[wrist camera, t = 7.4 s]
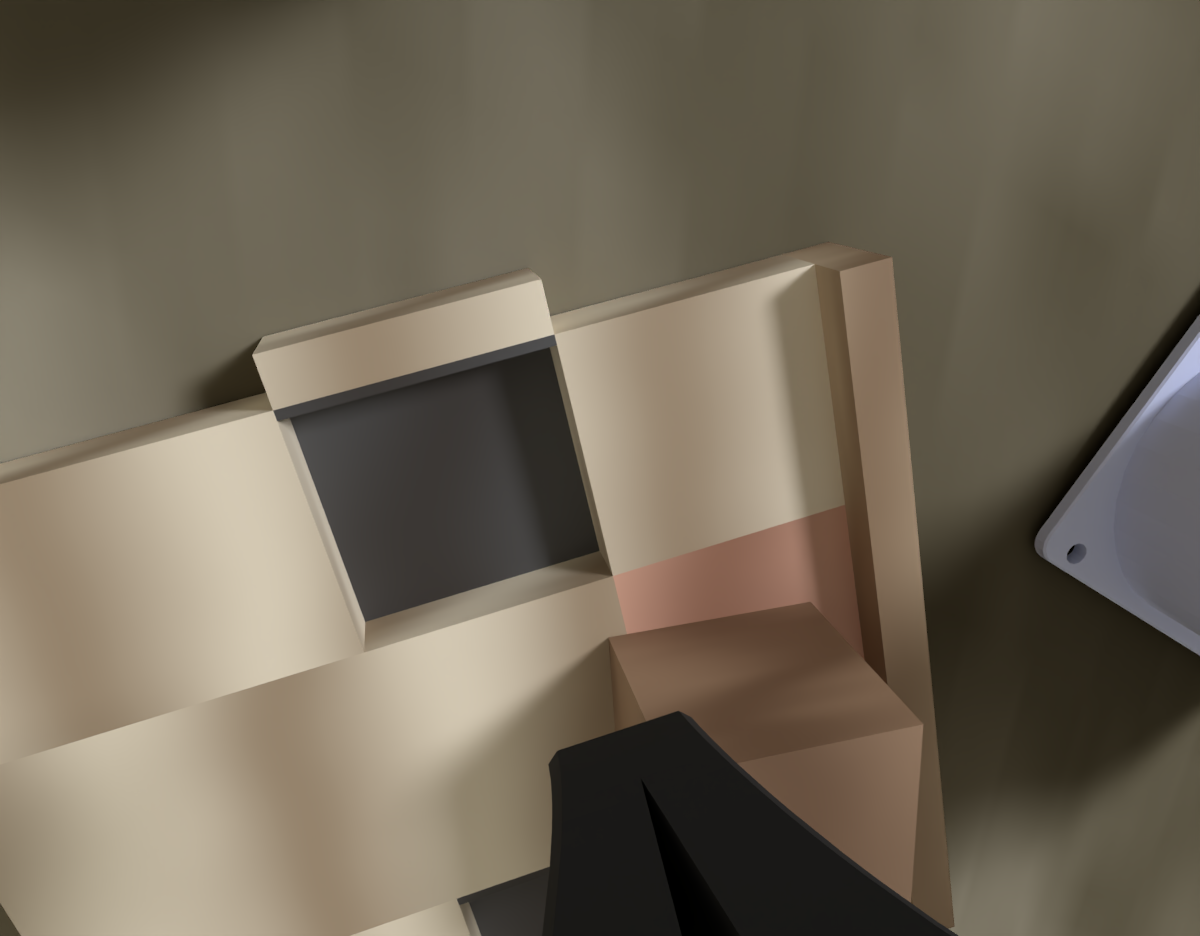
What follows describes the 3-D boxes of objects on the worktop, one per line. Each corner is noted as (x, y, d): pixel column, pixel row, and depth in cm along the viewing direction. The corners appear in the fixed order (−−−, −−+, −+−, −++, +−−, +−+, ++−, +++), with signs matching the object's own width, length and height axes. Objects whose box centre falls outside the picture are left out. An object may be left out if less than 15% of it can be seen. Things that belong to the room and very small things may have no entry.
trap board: (822, 191, 18) (886, 199, 16) (904, 879, 25) (957, 954, 23) (-207, 458, 16) (-309, 514, 13) (203, 1137, 23) (182, 1250, 20)
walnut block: (810, 601, 19) (923, 724, 15) (807, 771, 21) (909, 922, 17) (608, 637, 19) (671, 776, 14) (620, 810, 20) (680, 980, 16)
